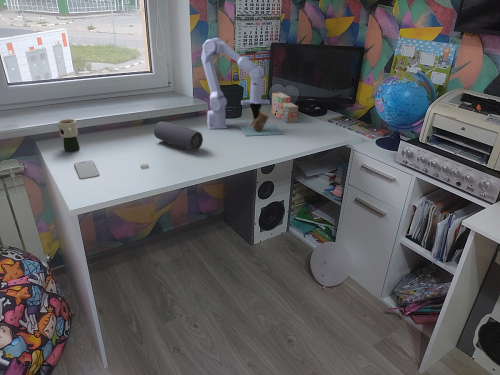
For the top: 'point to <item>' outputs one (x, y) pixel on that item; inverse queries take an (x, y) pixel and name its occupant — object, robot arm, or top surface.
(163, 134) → the bluetooth speaker
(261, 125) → the walnut block
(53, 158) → the top surface
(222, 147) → the top surface
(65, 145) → the character mug
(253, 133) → the teal-grey mat
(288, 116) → the stack of blocks
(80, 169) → the smartphone
